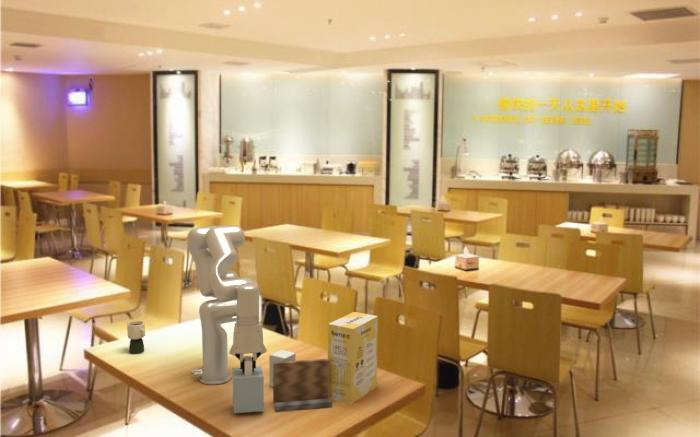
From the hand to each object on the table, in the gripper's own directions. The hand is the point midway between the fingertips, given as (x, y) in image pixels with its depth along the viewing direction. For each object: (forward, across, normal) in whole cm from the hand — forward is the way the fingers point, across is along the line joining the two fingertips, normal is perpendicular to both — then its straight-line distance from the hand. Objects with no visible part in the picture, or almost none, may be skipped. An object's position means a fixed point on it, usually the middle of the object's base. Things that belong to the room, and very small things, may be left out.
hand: (248, 370), depth 222 cm
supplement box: (+15, +14, +19) cm, 28 cm away
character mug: (+16, -44, +66) cm, 81 cm away
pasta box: (+15, +39, +8) cm, 43 cm away
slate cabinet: (+13, 0, 0) cm, 13 cm away
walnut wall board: (+15, +19, +1) cm, 24 cm away
